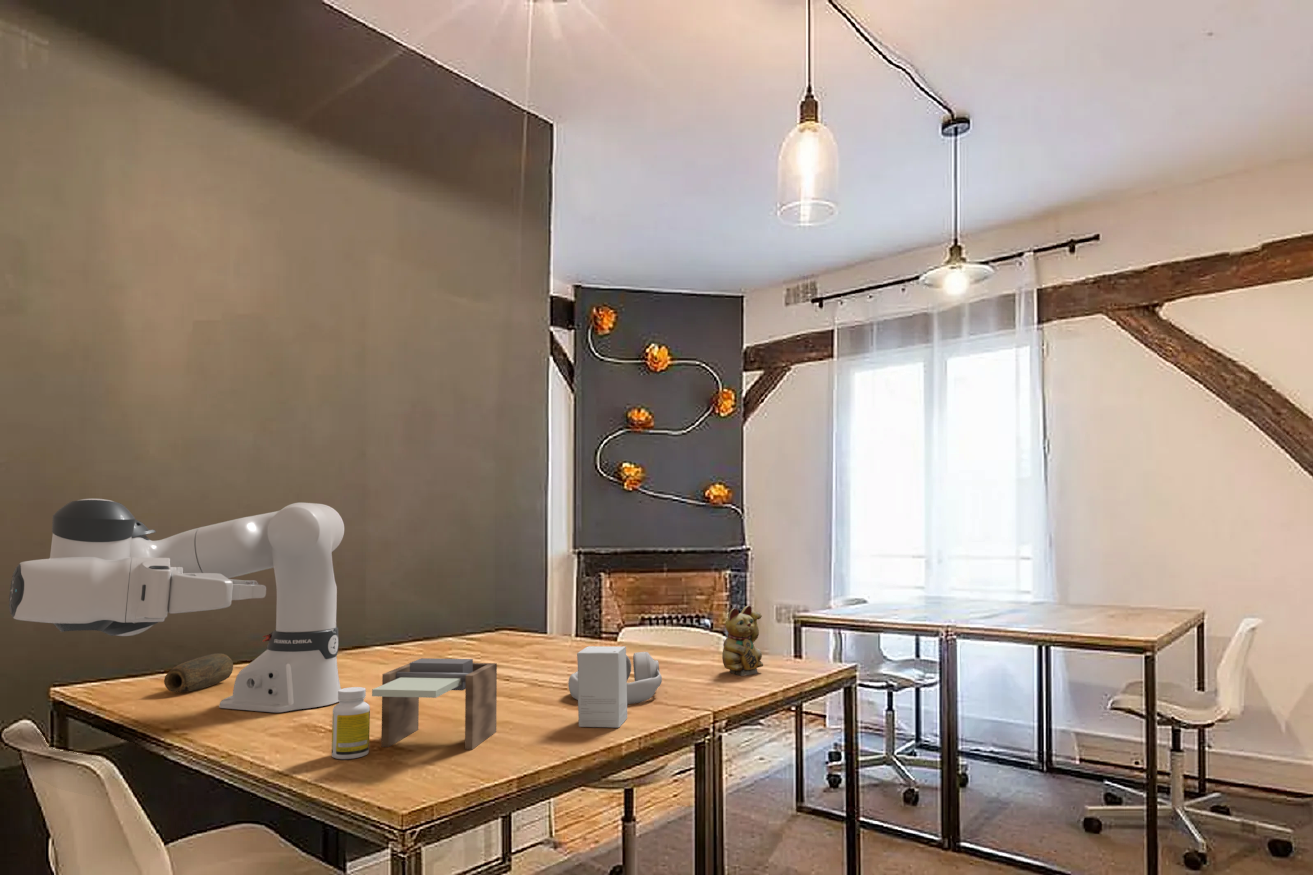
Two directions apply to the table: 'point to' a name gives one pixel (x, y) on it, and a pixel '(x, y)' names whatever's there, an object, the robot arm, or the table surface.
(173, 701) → the table surface
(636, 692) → the headphones
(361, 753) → the supplement bottle
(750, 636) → the decorative figurine
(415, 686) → the trapdoor
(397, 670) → the walnut frame
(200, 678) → the brown hollow rounded cylinder
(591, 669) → the supplement box
